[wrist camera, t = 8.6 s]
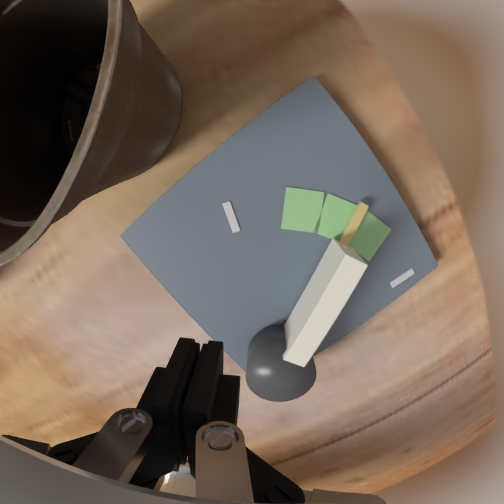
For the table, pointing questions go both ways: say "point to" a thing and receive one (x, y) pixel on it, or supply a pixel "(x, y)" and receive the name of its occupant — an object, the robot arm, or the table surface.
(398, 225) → the board
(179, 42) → the table surface
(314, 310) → the peg dial
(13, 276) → the table surface
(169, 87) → the plant pot
